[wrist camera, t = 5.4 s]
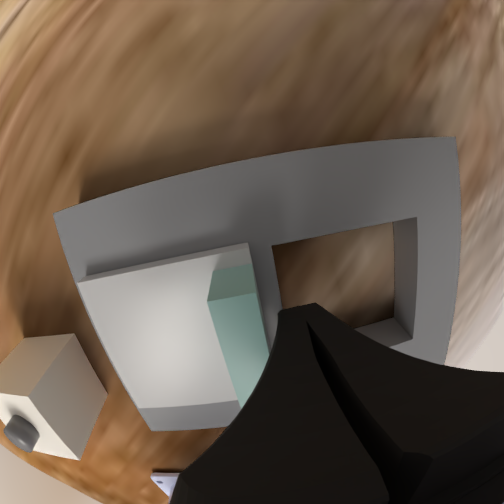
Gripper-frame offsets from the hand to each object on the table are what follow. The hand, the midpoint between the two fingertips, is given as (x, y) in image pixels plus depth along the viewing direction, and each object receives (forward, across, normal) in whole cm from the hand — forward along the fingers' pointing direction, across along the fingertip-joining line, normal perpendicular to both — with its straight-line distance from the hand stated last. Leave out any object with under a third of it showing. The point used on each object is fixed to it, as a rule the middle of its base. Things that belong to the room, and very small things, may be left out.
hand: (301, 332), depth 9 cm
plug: (+3, +13, +2) cm, 13 cm away
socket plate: (+3, 0, 0) cm, 3 cm away
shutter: (+1, +4, 0) cm, 4 cm away
